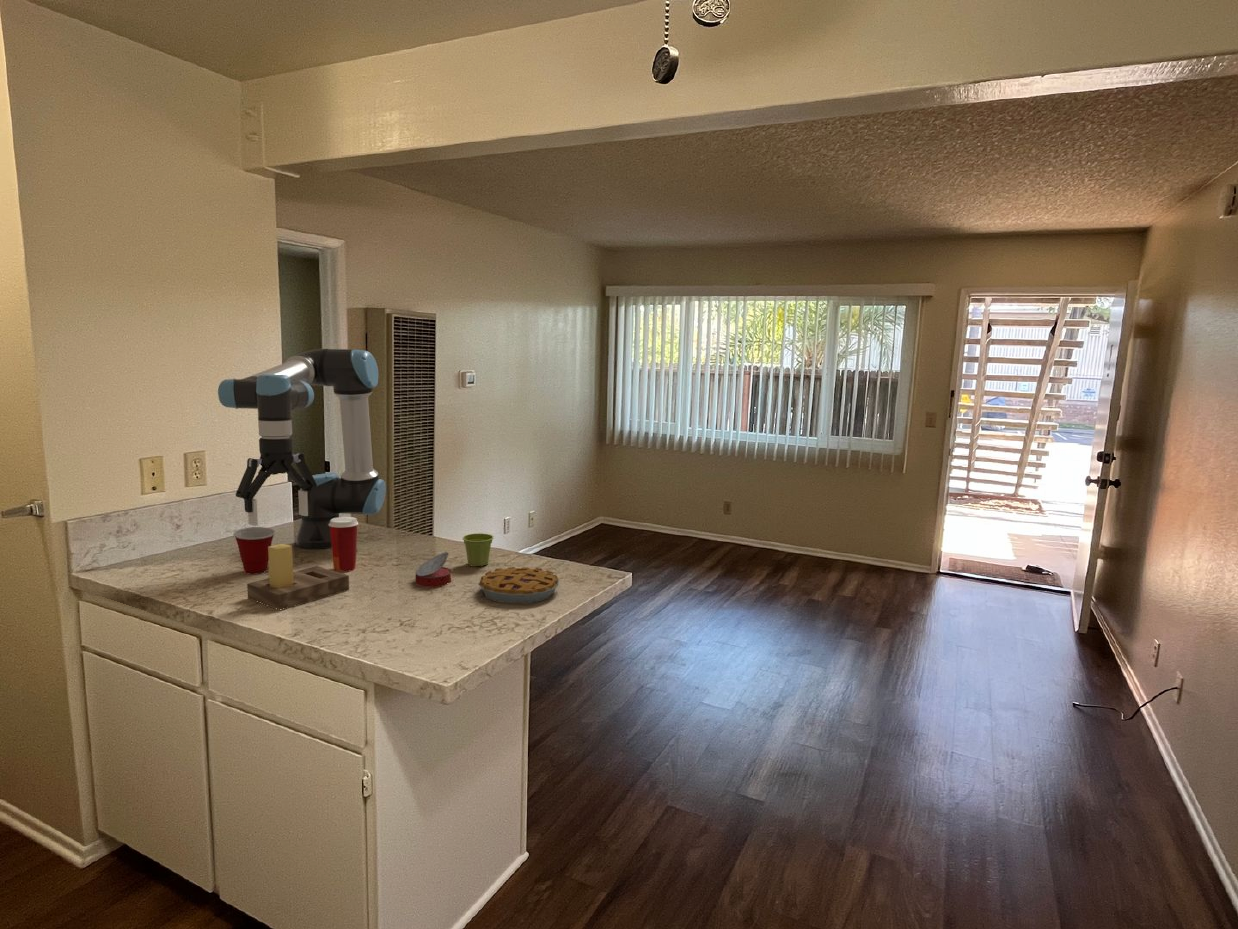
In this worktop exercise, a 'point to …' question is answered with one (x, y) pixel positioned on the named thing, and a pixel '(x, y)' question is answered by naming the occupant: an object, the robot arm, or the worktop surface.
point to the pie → (518, 585)
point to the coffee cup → (344, 542)
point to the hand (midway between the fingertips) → (279, 520)
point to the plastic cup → (254, 547)
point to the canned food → (433, 572)
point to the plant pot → (478, 548)
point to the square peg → (280, 566)
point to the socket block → (299, 588)
